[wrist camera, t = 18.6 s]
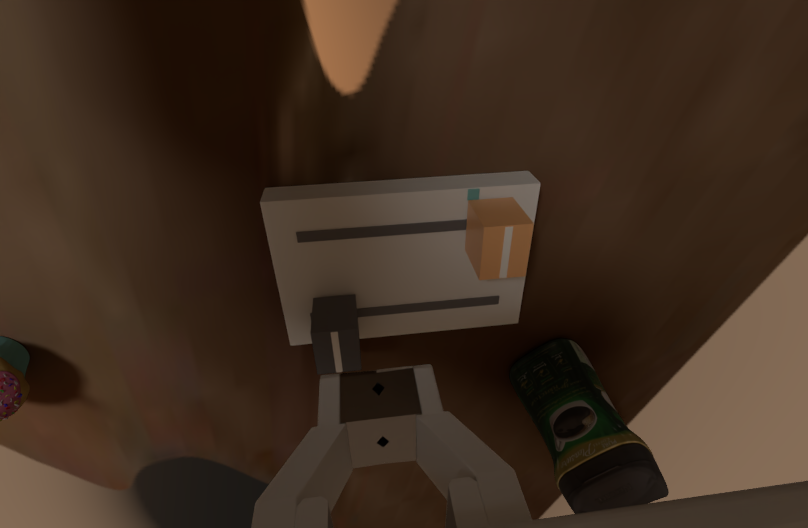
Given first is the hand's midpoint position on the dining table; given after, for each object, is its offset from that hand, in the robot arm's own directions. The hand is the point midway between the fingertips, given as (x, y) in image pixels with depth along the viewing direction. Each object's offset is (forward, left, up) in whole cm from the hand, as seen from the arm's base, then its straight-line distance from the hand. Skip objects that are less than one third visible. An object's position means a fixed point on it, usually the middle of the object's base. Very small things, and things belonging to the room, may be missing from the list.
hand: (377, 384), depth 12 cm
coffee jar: (+22, -32, -29) cm, 49 cm away
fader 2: (+11, -9, -26) cm, 30 cm away
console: (+4, -14, -29) cm, 33 cm away
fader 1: (-3, -18, -26) cm, 32 cm away
